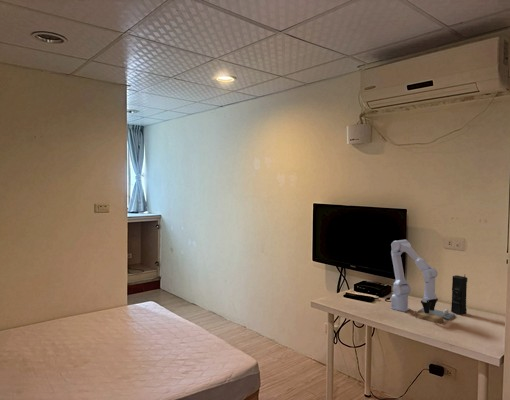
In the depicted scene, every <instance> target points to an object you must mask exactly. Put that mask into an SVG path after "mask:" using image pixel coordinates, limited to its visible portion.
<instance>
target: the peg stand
mask: <svg viewBox="0 0 510 400" xmlns="http://www.w3.org/2000/svg"><path fill="white" fill-rule="evenodd" d="M418 311H422V312H424V308H423V307H422V308H421V309H419V310H418ZM429 313H430V314H434V315H438V316H442V317H443V320H445V321H451V320H452V319H453V318H455V317H456V313H452V312H449V308H445V309H443V311H442V310H438V309H435V308H434V311H433V310H429Z"/></svg>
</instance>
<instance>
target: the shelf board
mask: <svg viewBox="0 0 510 400" xmlns="http://www.w3.org/2000/svg"><path fill="white" fill-rule="evenodd" d="M414 317H415V318H417V319H420V320H425V321H428V322H432V323H436V324H441V323H444V319H443V317H442V316H438V315H434V314H430V313H429V314H427V313H425V312H422V311H419V310H417V311H416V312H415V315H414Z"/></svg>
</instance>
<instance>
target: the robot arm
mask: <svg viewBox="0 0 510 400" xmlns="http://www.w3.org/2000/svg"><path fill="white" fill-rule="evenodd" d="M390 246H391V248H390V249H391V251H390V255H391V261H392V265H393V267H392V268H393V273H394V277H395V281H394V282H393V286H392V291H393V293H392V295H391V297H390V309H392V310H395V311H399V312H404V313H405V312H407V311H409V310H411V308H410V307H409V304H408V303H409V301H408V300H409V295H410V293H411V290H412V289H411V287H410V284H409V282H408V281H407V280H406V279H405V273H404V272H405V271H404V267H403V262H402V261H403V260H402V257H401V255H402V254H403V253H406V254H407V255H409V257H410V258H411V259H412V260H413V261H414V264H415V266H416V267H417V268H418V269H419V270H420V272H421V275H422V277H423V281H424V282H423V283H424V287H423V288H424V289H423V298H422V299H421V300H420V304H421V305H422V308H424V312H425V313H427V314H429V310H433V311H434V309H435V308H436V305H437V304H436V303H437V302H438V301H439V298H438V297H437V294H436V278H437V276H438V270H437V269H436V268H434V267H432V266H431V265H430V264H429V263H428V262H427V260H426V259H425V258H421V257H420V256H419V255H418V253H417V252H416V251H415V249H414V248H413V247H412V244H411V243H410V242H409V241H408V240H407V239H399V240H393V241H392V242H391V244H390Z"/></svg>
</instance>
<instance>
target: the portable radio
mask: <svg viewBox="0 0 510 400" xmlns="http://www.w3.org/2000/svg"><path fill="white" fill-rule="evenodd" d="M467 288H468V277H466V275H464V276H462V275H457V274H456V275H453V276H452V284H451V308H450V309H451V311H450V313H452V314H455V315H456V314H457V315H460V316H463V315H466V314H467Z"/></svg>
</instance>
